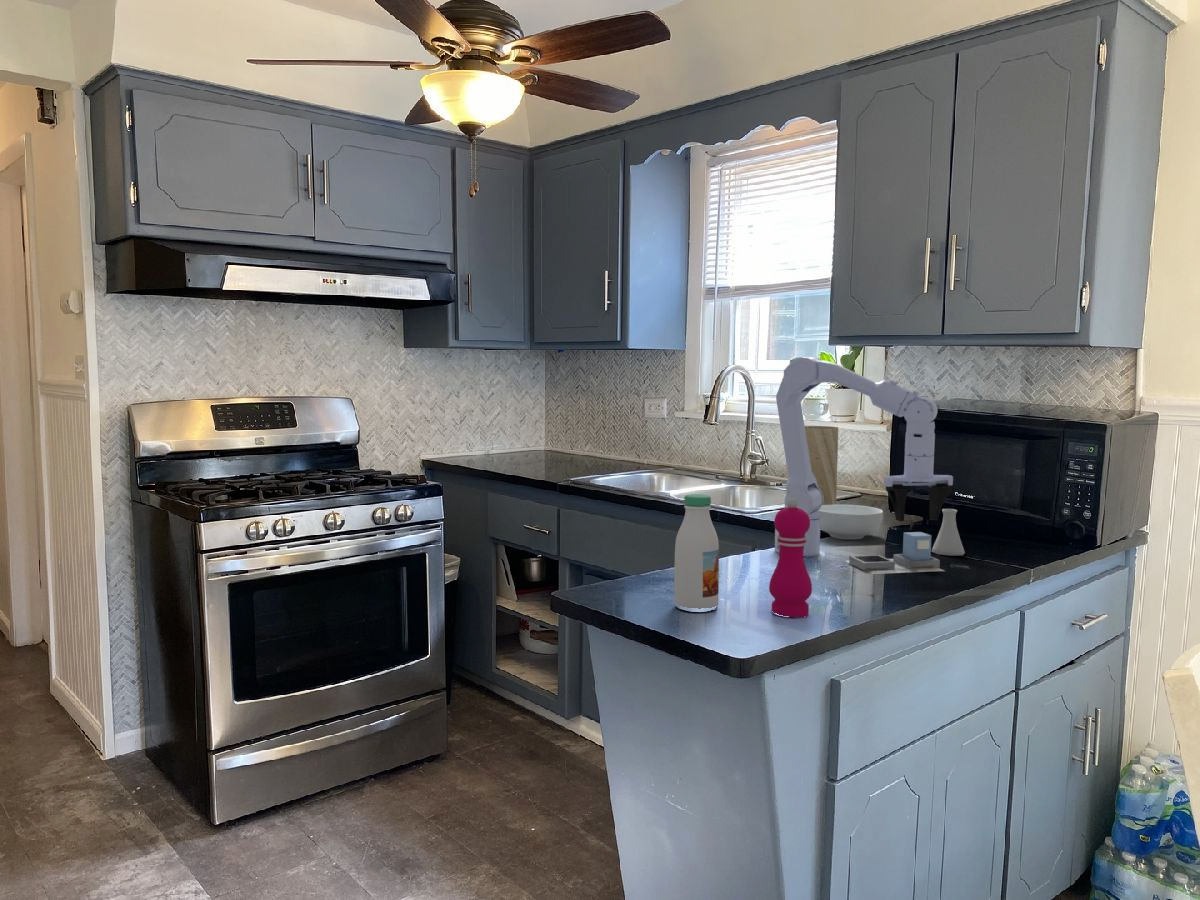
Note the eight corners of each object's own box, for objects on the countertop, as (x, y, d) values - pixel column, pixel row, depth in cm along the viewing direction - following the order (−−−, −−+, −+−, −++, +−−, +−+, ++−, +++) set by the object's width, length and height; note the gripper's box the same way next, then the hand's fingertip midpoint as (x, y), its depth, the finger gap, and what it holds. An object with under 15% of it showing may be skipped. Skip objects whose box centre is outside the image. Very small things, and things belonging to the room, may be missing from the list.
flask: (968, 557, 198) (969, 513, 197) (933, 556, 199) (935, 511, 198) (961, 550, 205) (963, 507, 204) (928, 549, 206) (930, 506, 205)
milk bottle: (687, 616, 152) (689, 499, 150) (666, 604, 159) (667, 493, 157) (726, 611, 155) (728, 497, 153) (704, 600, 162) (705, 491, 160)
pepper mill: (803, 621, 148) (806, 503, 146) (762, 615, 152) (764, 499, 150) (817, 611, 154) (820, 497, 152) (777, 605, 158) (779, 494, 156)
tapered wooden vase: (791, 515, 251) (794, 427, 249) (815, 511, 257) (817, 425, 255) (820, 520, 243) (822, 429, 241) (843, 516, 249) (846, 427, 247)
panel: (869, 578, 178) (870, 566, 178) (843, 565, 190) (843, 553, 189) (946, 575, 181) (947, 562, 180) (915, 562, 192) (916, 550, 192)
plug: (914, 568, 183) (915, 536, 182) (902, 563, 187) (903, 532, 187) (932, 567, 183) (933, 536, 183) (920, 562, 188) (921, 532, 187)
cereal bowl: (896, 538, 219) (897, 510, 218) (851, 546, 209) (852, 516, 209) (842, 527, 233) (843, 501, 232) (797, 534, 223) (798, 506, 223)
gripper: (896, 457, 179) (893, 524, 180) (962, 456, 181) (959, 522, 183) (879, 454, 186) (877, 518, 187) (943, 453, 188) (940, 516, 190)
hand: (916, 520), depth 185 cm, fingers open, 7 cm apart
